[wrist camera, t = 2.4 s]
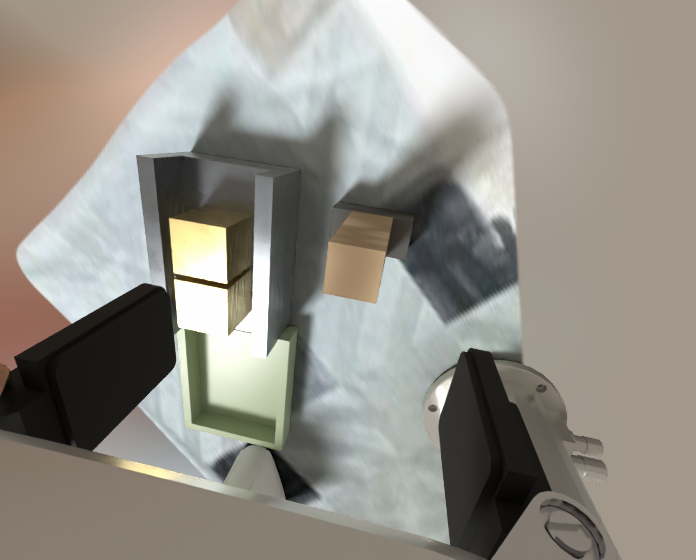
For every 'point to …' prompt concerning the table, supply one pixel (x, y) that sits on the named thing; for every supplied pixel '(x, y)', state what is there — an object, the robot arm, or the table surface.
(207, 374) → the chip tray
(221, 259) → the yellow wooden cube
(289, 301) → the channel
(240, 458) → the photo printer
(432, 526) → the table surface
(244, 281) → the yellow cube
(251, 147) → the table surface
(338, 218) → the t-shaped hammer
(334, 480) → the table surface
